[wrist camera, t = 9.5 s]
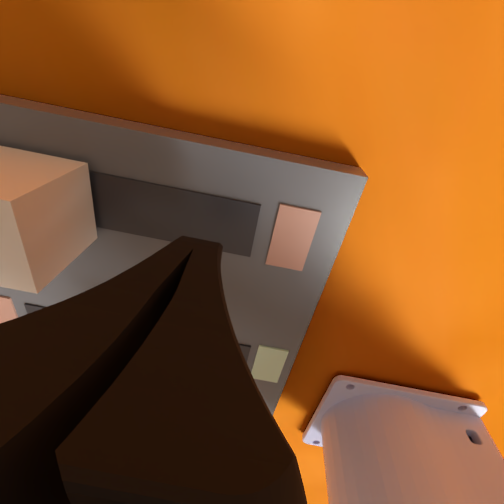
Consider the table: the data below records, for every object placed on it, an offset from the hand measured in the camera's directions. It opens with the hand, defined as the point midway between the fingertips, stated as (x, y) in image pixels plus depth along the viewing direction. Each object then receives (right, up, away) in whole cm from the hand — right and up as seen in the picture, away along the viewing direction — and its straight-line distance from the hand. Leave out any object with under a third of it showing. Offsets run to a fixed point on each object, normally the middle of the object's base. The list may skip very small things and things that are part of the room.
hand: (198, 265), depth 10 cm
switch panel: (-4, -1, +6) cm, 7 cm away
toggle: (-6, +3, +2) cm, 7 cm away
